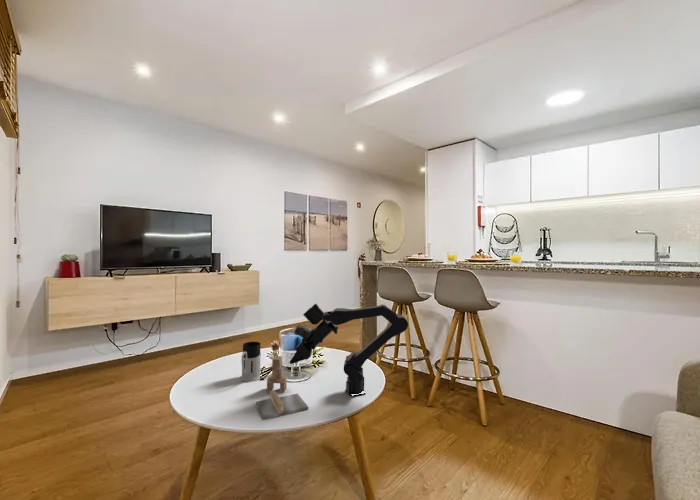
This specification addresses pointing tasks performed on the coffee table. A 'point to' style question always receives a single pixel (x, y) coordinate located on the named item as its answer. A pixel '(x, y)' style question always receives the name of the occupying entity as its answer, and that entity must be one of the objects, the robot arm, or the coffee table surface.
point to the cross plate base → (287, 406)
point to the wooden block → (277, 375)
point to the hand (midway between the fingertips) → (292, 359)
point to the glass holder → (251, 361)
